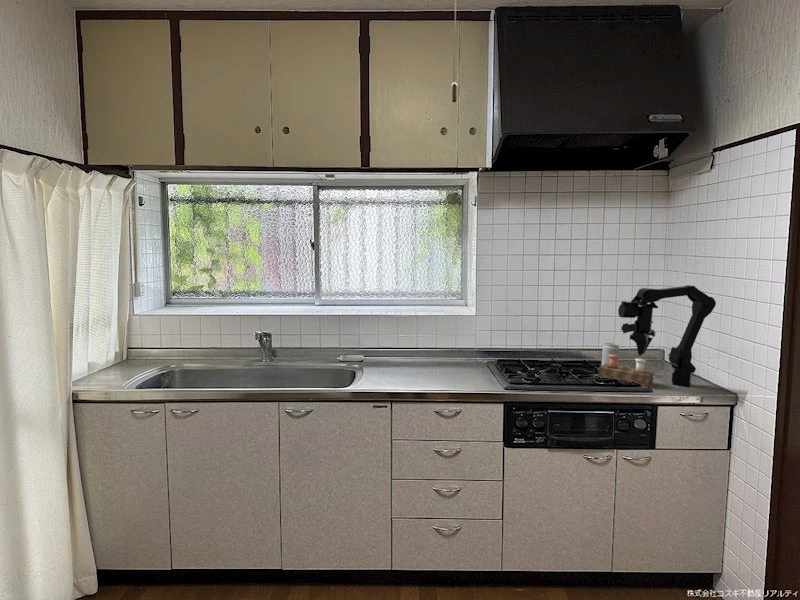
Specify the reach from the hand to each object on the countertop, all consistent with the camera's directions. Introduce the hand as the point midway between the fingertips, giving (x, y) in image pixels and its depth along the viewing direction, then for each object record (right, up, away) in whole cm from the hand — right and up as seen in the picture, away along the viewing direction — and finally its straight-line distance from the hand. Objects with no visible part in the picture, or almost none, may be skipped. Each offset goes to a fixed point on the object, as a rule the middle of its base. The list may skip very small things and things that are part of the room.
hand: (641, 354), depth 219 cm
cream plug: (0, -8, +1) cm, 8 cm away
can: (-2, -10, +28) cm, 29 cm away
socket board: (-5, -12, +5) cm, 14 cm away
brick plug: (-9, -7, +8) cm, 14 cm away
